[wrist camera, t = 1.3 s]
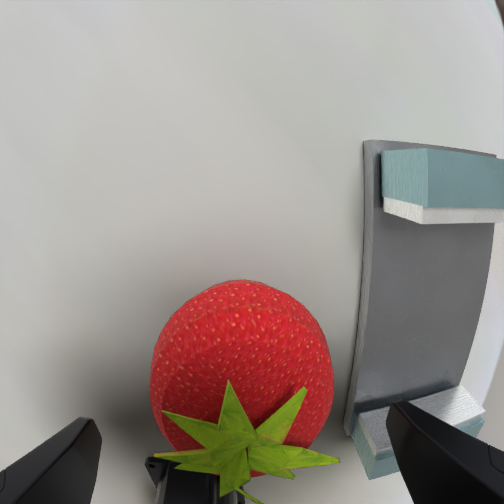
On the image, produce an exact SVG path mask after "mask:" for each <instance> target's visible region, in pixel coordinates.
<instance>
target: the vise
mask: <svg viewBox="0 0 504 504" xmlns="http://www.w3.org/2000/svg"><path fill="white" fill-rule="evenodd" d="M363 146H364V181H365V214H364V249H363V269H362V284H361V297H360V309H359V319H358V329H357V338H356V346H355V354H354V361H353V368H352V375H351V382H350V388H349V394H348V400H347V406H346V411H345V417H344V422H343V427H344V429H345V432H346V434H347V436H348V435H351V437H352V439H353V442H354V444H355V446H356V449H357V451H358V454H359V456H360V459H361V461H362V464H363V466H364V469H365V471H366V474H367V476H368V479H369V480H371V479H375V478H378V477H382V476H385V475H389V474H392V473H395V472H399V471H400V470H399V467H398V465H397V462H396V458H395V455H394V452H393V448H392V445H391V442H390V438H389V435H388V432H387V429H386V418H387V414H388V411H389V408H390V405H391V403H392V402H395V401H398V400H406V401H408V402H410V403H411V404H413V405H415V406H417V407H419V408H420V409H422V410H424V411H426V412H428V413H430V414H431V415H433V416H435V417H437V418H439V419H441V420H443V421H444V422H446V423H448V424H450V425H452V426H454V427H456V428H458V429H460V430H461V431H463V432H465V433H467V434H469V435H471V436H473V437H475V438H476V436H477V434H478V433H479V431H480V429H481V427H482V425H483V423H484V422H485V421H484V420H483V416H484V414H485V412H486V411H485V410H484V408H483V407H482V406H481V405H480V404H479V403H478V402H477V401H476V399H475V398H474V397H473V396H472V395H471V394H470V393H469V392H468V391H467V390H466V388H465V387H464V386H463V385H459V383H460V380H461V378H462V375H463V372H464V369H465V366H466V363H467V360H468V357H469V353H470V350H471V347H472V343H473V340H474V336H475V332H476V329H477V325H478V321H479V317H480V312H481V308H482V303H483V299H484V294H485V289H486V283H487V278H488V272H489V266H490V259H491V251H492V243H493V234H494V223H450V224H420V223H417V222H414V221H411V220H408V219H405V218H402V217H399V216H396V215H393V214H390V213H387V212H384V197H382V166H381V151H391V150H405V149H422V148H430V149H439V150H447V151H454V152H462V153H468V154H475V155H481V156H487V157H493V158H496V155H494V154H488V153H483V152H477V151H471V150H465V149H458V148H451V147H444V146H436V145H428V144H419V143H409V142H398V141H385V140H367V141H363Z"/></svg>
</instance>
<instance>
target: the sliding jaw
mask: <svg viewBox="0 0 504 504" xmlns="http://www.w3.org/2000/svg"><path fill="white" fill-rule="evenodd" d="M381 166H382V197H384V212H387V213H390V214H393V215H396V216H399V217H402V218H405V219H408V220H411V221H414V222H417V223H420V224H450V223H504V159H498V158H493V157H487V156H481V155H475V154H468V153H462V152H454V151H447V150H439V149H430V148H422V149H405V150H391V151H381Z"/></svg>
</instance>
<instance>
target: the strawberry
mask: <svg viewBox="0 0 504 504" xmlns="http://www.w3.org/2000/svg"><path fill="white" fill-rule="evenodd" d="M333 397H334V375H333V369H332V364H331V358H330V353H329V349H328V346H327V342H326V338H325V336H324V334H323V332H322V330H321V328H320V326H319V324H318V322H317V320H316V319H315V318H314V317H313V316H312V315H311V313H310V312H309V311H308V310H307V309H306V308H305V306H303V305H302V304H301V303H299V302H298V301H297V300H295V299H294V298H293V297H291V296H290V295H288V294H286V293H284V292H282V291H279V290H277V289H275V288H272V287H270V286H268V285H265V284H263V283H261V282H256V281H250V280H232V281H227V282H223V283H220V284H217V285H214V286H212V287H210V288H209V289H207V290H205V291H203V292H202V293H200V294H198V295H197V296H195V297H194V298H192V299H190V300H189V301H188V302H186V303H185V304H184V305H183V306H182V307H181V308H180V309H179V310H178V311H176V312H175V313H174V314H173V315H172V317H171V318H170V320H169V321H168V323H167V324H166V325H165V327H164V328H163V330H162V331H161V334H160V336H159V338H158V341H157V343H156V346H155V348H154V354H153V359H152V365H151V377H150V403H151V407H152V411H153V415H154V419H155V421H156V423H157V425H158V427H159V429H160V431H161V433H162V434H163V435H164V437H165V438H166V439H167V441H168V442H169V443H170V444H171V446H172V447H173V448H174V449H175V450H176V451H177V452H167V453H154V457H157V458H162V459H167V460H172V461H177V462H182V464H180V465H179V466H177V467H175V468H174V469H181V470H188V471H195V472H203V473H211V474H215V475H219V476H220V497H222V496H224V495H226V494H227V493H229V492H231V491H233V490H237V491H238V492H240V493H241V494H243V495H244V496H246V497H247V498H249V499H250V500H252V501H253V502H255V503H257V504H263V503H261V502H260V501H258V500H256V499H255V498H253V497H252V496H250V495H249V494H247V493H246V492H244V491H242V490H241V489H239V487H240V486H242V485H243V484H245V483H247V482H249V481H250V479H251V477H256V476H261V475H265V474H270V475H275V476H279V477H283V478H288V479H293V480H294V477H295V475H294V474H293V473H292V472H291V471H289V470H288V469H295V468H304V467H313V466H320V465H328V464H334V463H340V460H339V458H336V457H332V456H328V455H325V454H322V453H318V452H315V451H312V450H308V449H307V448H308V447H309V446H310V445H311V443H312V442H313V441H314V439H315V438H316V437H317V435H318V434H319V432H320V431H321V429H322V428H323V426H324V424H325V423H326V420H327V418H328V415H329V413H330V410H331V407H332V402H333Z"/></svg>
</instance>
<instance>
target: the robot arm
mask: <svg viewBox="0 0 504 504" xmlns="http://www.w3.org/2000/svg"><path fill="white" fill-rule="evenodd" d="M386 429H387V432H388V435H389V438H390V442H391V445H392V448H393V452H394V455H395V458H396V462H397V465H398V467H399V470H400V472H401V474H402V477H403V479H404V481H405V484H406V486H407V488H408V491H409V493H410V495H411V498H412V500H413V502H414V504H504V451H501V450H499V449H497V448H495V447H493V446H491V445H488V444H487V443H485V442H483V441H481V440H479V439H477V438H475V437H473V436H471V435H469V434H467V433H465V432H463V431H461V430H460V429H458V428H456V427H454V426H452V425H450V424H448V423H446V422H444V421H443V420H441V419H439V418H437V417H435V416H433V415H431V414H430V413H428V412H426V411H424V410H422V409H420V408H419V407H417V406H415V405H413V404H411V403H410V402H408V401H406V400H398V401H395V402H392V403H391V405H390V408H389V411H388V414H387V418H386ZM101 445H102V437H101V434H100V432H99V430H98V428H97V426H96V424H95V422H94V420H93V419H92V418H87V417H79V418H78V419H76V420H75V421H73V422H72V423H71V424H69V425H68V426H66V427H65V428H64V429H62V430H61V431H59V432H58V433H56V434H55V435H54V436H52V437H51V438H49V439H48V440H46V441H45V442H44V443H42V444H41V445H39V446H38V447H36V448H35V449H33V450H32V451H31V452H29V453H28V454H26V455H25V456H23V457H22V458H20V459H19V460H17V461H16V462H14V463H13V464H11V465H10V466H8V467H7V468H6V470H5V469H4V470H2V471H1V472H0V504H90V502H91V498H92V494H93V490H94V486H95V482H96V477H97V470H98V463H99V457H100V451H101ZM180 464H182V462H177V461H172V460H167V459H158V458H147V459H146V461H145V466H146V468H147V470H148V472H149V474H150V476H151V478H152V480H153V482H154V484H155V486H156V488H157V493H156V499H155V504H245V498H244V495H243V494H241V493H240V492H238V491H237V490H233V491H231V492H229V493H227V494H226V495H224V496H222V497H220V476H219V475H215V474H211V473H203V472H195V471H188V470H181V469H174V468H175V467H177V466H179V465H180ZM239 489H241V490H242V491H243V485H242V486H240V487H239Z"/></svg>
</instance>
